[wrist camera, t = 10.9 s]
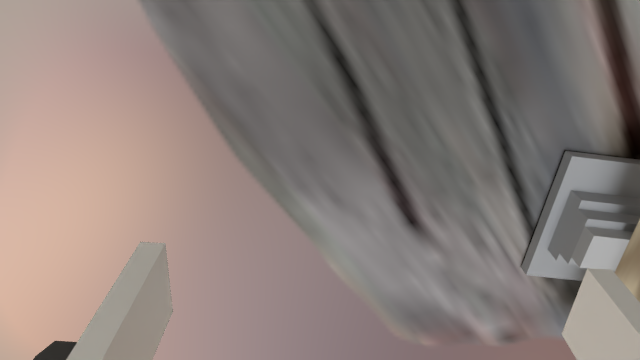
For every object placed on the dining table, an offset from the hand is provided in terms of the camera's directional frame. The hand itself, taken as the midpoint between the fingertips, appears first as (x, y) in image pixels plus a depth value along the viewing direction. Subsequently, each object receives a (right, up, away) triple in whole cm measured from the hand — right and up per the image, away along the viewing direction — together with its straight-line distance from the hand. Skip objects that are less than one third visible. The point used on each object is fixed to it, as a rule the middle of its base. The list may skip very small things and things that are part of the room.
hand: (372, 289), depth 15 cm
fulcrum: (+24, 0, +27) cm, 37 cm away
